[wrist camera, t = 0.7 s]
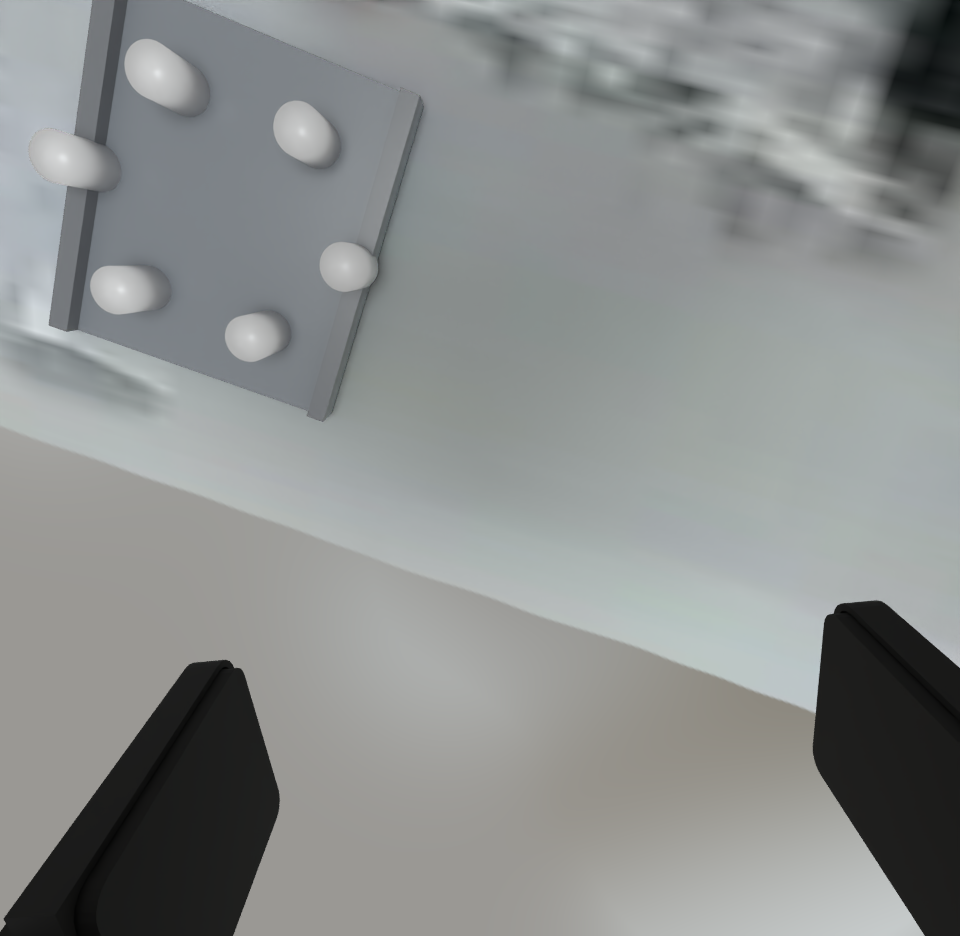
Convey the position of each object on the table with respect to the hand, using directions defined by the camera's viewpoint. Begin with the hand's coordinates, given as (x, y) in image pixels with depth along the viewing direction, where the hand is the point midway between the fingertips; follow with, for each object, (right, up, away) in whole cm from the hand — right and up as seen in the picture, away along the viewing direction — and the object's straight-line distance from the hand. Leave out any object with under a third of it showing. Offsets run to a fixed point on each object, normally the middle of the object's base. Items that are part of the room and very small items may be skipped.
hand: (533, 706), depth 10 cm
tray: (-15, +18, +24) cm, 33 cm away
